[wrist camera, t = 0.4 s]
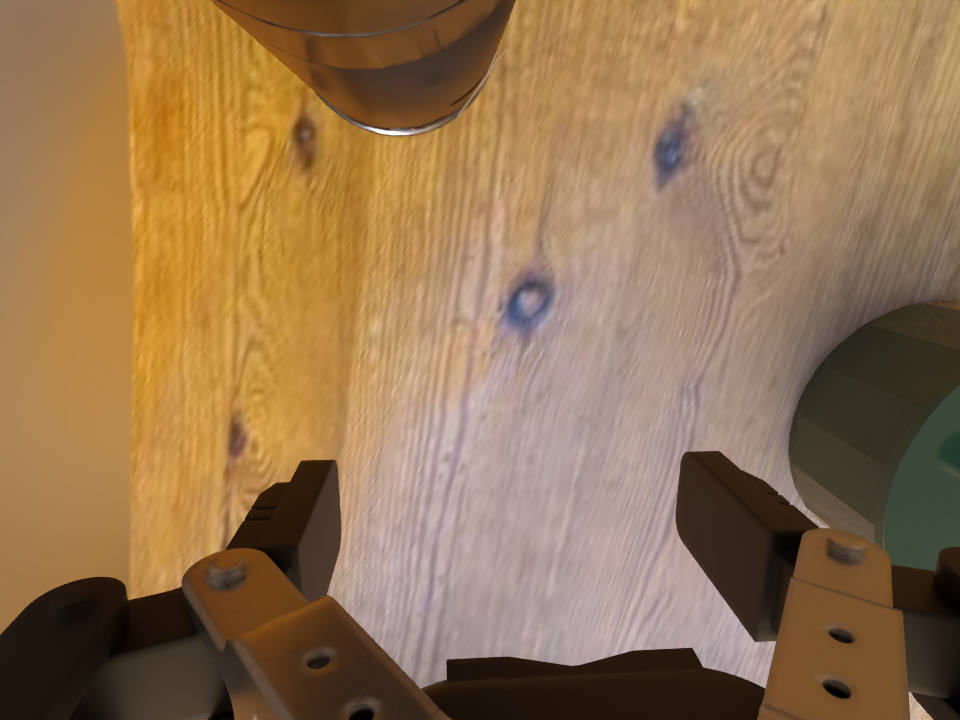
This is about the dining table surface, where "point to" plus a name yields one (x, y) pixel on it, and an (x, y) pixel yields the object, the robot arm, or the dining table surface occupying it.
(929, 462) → the lid
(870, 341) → the pot
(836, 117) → the dining table surface
